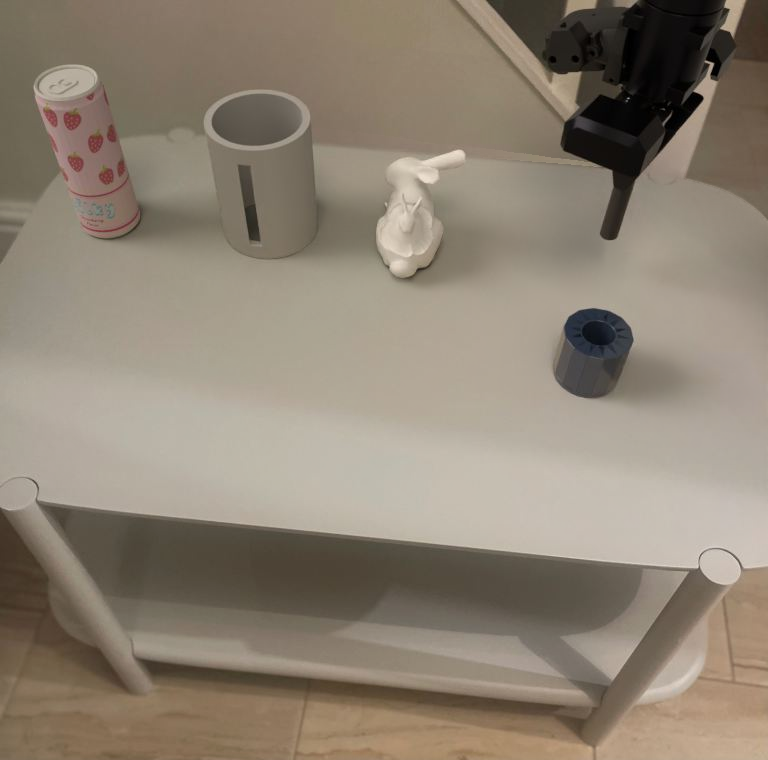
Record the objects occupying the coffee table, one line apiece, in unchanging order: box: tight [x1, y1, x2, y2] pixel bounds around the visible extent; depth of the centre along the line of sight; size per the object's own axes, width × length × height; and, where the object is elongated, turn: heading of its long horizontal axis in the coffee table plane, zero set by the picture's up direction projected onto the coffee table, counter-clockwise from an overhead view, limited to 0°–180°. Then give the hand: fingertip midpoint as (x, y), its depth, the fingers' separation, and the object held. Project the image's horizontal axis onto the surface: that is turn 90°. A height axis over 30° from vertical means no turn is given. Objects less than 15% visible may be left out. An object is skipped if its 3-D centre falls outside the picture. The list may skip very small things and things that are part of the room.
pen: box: [599, 179, 637, 241], centre depth 67 cm, size 2×2×9 cm
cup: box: [203, 88, 319, 260], centre depth 73 cm, size 9×9×12 cm
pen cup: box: [552, 307, 635, 399], centre depth 65 cm, size 5×6×5 cm
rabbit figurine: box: [375, 149, 467, 279], centre depth 72 cm, size 12×8×10 cm, turn 173°
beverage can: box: [33, 63, 141, 239], centre depth 72 cm, size 6×6×15 cm
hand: (625, 182), depth 66 cm, fingers closed on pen, 2 cm apart
